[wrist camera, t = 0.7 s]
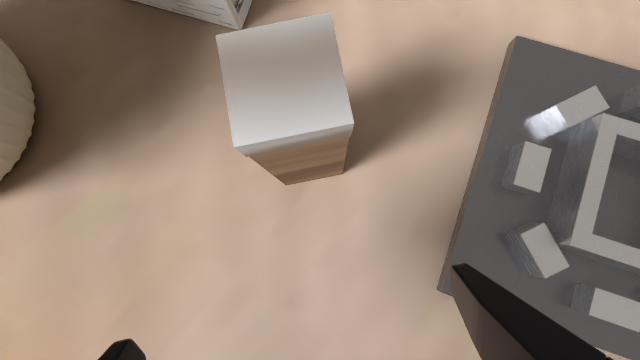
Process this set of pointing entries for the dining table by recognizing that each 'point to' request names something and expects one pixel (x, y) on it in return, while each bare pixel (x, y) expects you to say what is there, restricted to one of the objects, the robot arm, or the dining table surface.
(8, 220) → the dining table surface
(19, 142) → the canister
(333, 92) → the tan tall block
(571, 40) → the dining table surface
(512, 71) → the grey square base plate
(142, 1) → the light bulb box
